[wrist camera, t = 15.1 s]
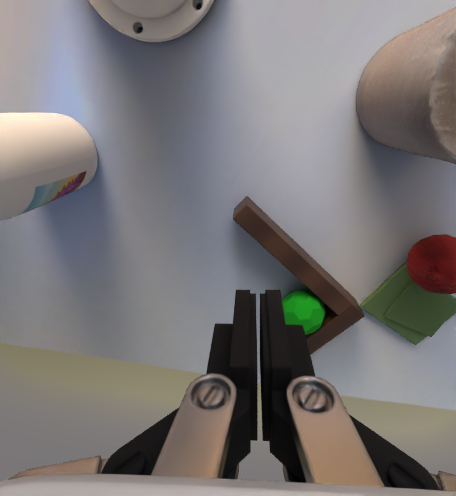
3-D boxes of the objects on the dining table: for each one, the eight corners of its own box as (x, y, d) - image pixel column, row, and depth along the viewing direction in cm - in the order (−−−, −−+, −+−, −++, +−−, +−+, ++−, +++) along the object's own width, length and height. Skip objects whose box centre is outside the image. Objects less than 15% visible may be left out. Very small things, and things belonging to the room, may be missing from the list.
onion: (418, 282, 36) (460, 325, 29) (383, 253, 35) (417, 290, 28) (462, 245, 34) (519, 282, 27) (426, 213, 33) (476, 242, 26)
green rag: (359, 305, 38) (362, 310, 37) (406, 261, 35) (410, 266, 34) (413, 342, 39) (417, 348, 38) (461, 303, 37) (467, 308, 36)
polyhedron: (300, 274, 37) (307, 296, 32) (328, 299, 38) (339, 324, 34) (270, 300, 39) (272, 324, 34) (298, 324, 40) (304, 350, 35)
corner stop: (171, 272, 38) (163, 287, 35) (247, 195, 34) (246, 204, 30) (275, 357, 42) (277, 378, 39) (355, 298, 38) (365, 316, 34)
